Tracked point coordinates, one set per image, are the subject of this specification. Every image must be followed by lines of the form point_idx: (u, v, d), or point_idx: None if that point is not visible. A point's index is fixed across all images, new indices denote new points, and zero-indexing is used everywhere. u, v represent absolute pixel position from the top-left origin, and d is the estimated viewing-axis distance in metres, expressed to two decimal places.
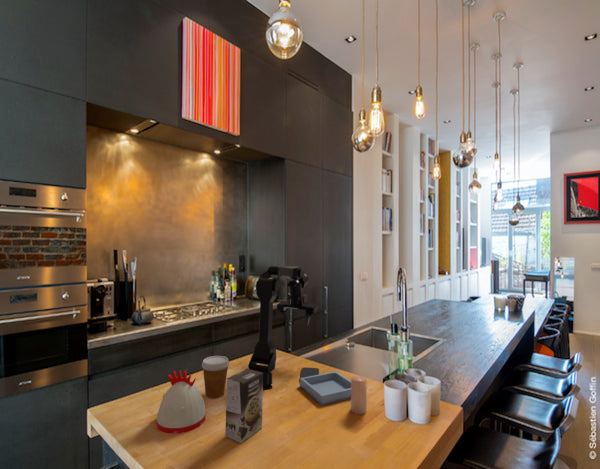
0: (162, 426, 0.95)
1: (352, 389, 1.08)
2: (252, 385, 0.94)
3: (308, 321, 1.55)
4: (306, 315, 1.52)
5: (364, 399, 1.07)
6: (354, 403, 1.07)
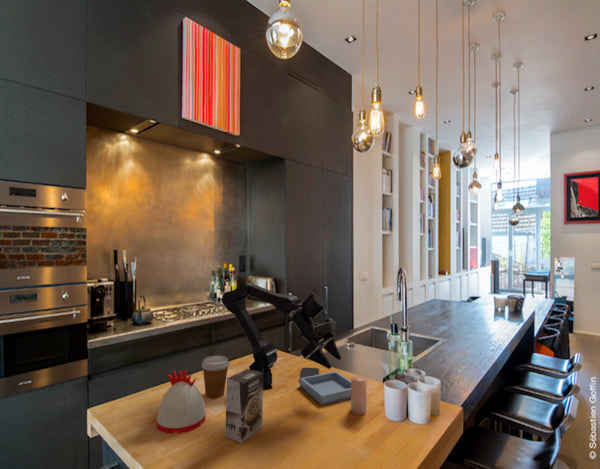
0: (162, 426, 0.95)
1: (352, 389, 1.08)
2: (252, 385, 0.94)
3: (323, 364, 1.09)
4: None
5: (364, 399, 1.07)
6: (354, 403, 1.07)
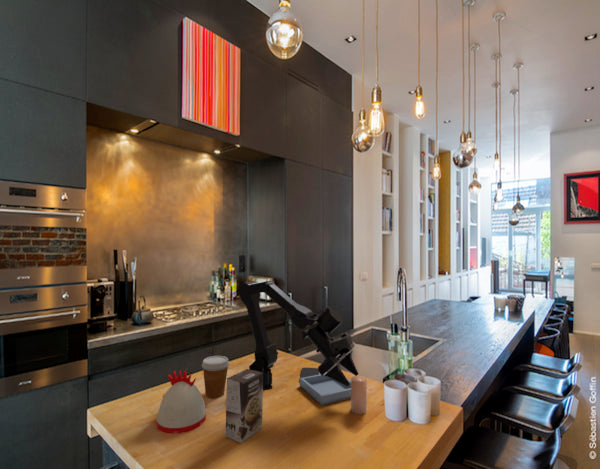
0: (162, 426, 0.95)
1: (352, 389, 1.08)
2: (252, 384, 0.94)
3: (341, 381, 1.06)
4: None
5: (364, 399, 1.07)
6: (354, 403, 1.07)
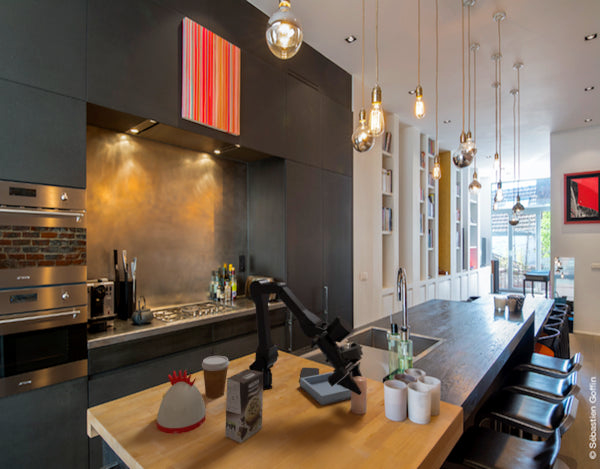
0: (162, 426, 0.95)
1: None
2: (252, 385, 0.94)
3: (353, 390, 1.06)
4: None
5: (364, 399, 1.07)
6: (354, 403, 1.07)
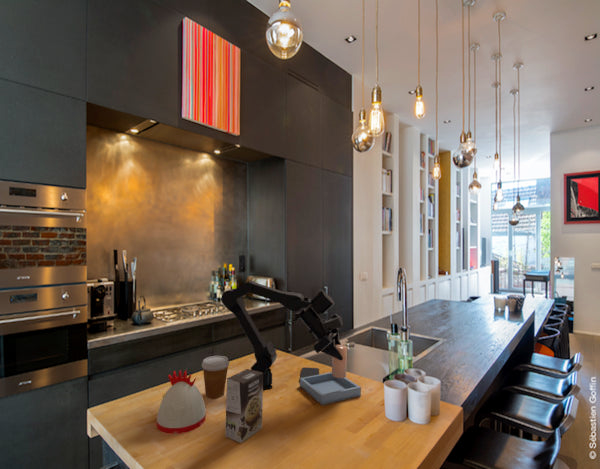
0: (162, 426, 0.95)
1: None
2: (252, 385, 0.94)
3: (336, 356, 1.16)
4: None
5: (345, 364, 1.18)
6: (336, 368, 1.17)
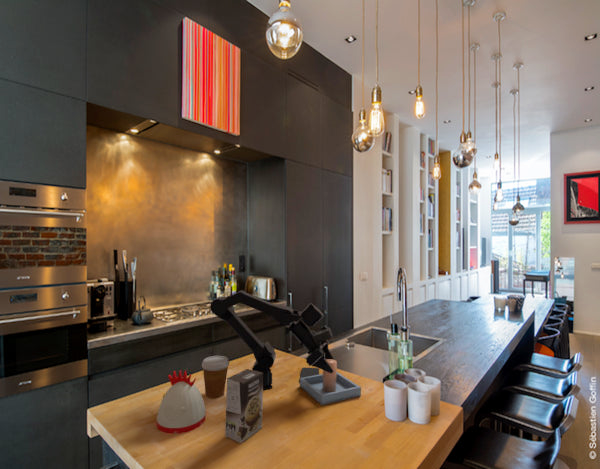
0: (162, 426, 0.95)
1: (324, 371, 1.22)
2: (252, 385, 0.94)
3: (326, 369, 1.18)
4: None
5: (335, 378, 1.22)
6: (327, 382, 1.21)
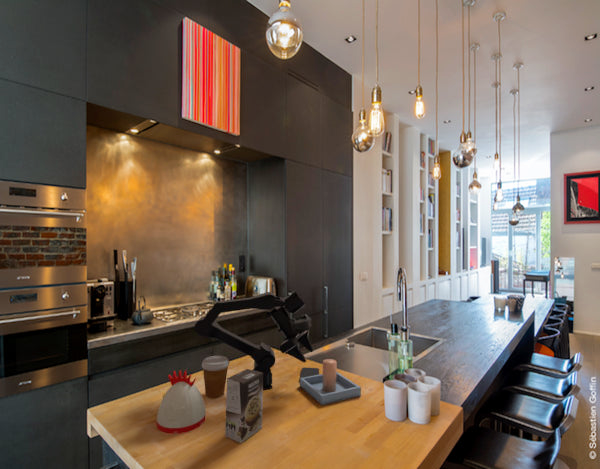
0: (162, 426, 0.95)
1: (324, 371, 1.21)
2: (252, 385, 0.94)
3: (299, 358, 1.20)
4: None
5: (335, 378, 1.22)
6: (327, 382, 1.21)
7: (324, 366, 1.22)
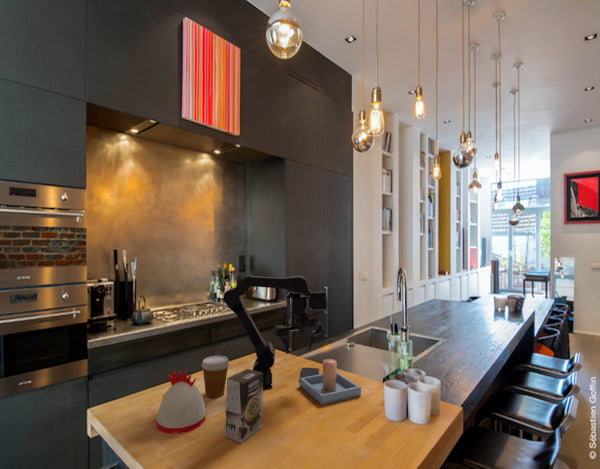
0: (162, 426, 0.95)
1: (324, 371, 1.21)
2: (252, 385, 0.94)
3: (284, 347, 1.24)
4: None
5: (335, 378, 1.22)
6: (327, 382, 1.21)
7: (324, 366, 1.22)
